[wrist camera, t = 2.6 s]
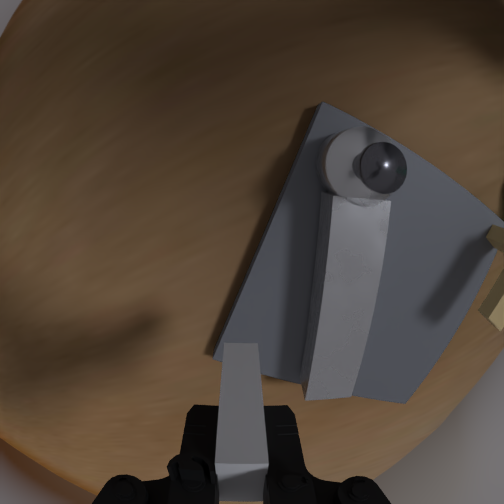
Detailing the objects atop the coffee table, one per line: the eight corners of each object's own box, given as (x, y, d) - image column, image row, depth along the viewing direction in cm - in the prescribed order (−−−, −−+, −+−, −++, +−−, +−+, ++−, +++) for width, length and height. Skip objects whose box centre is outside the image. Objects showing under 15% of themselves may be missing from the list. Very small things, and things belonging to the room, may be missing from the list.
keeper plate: (317, 105, 20) (350, 80, 13) (498, 222, 23) (548, 241, 16) (214, 349, 26) (205, 408, 19) (401, 395, 29) (426, 440, 22)
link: (317, 126, 19) (343, 114, 14) (382, 136, 19) (424, 130, 14) (294, 377, 25) (304, 425, 19) (347, 375, 25) (366, 418, 20)
